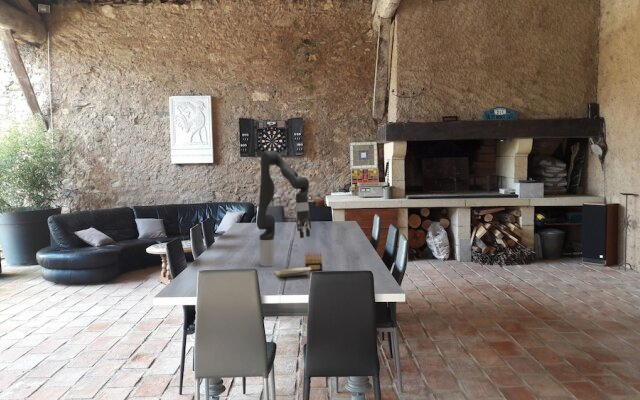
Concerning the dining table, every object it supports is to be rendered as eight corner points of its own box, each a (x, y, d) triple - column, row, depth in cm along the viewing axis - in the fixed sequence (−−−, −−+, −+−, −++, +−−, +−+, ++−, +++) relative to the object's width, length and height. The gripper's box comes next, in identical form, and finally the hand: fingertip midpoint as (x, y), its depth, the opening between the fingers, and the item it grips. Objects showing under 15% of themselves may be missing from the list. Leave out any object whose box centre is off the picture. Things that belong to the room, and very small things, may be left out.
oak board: (273, 273, 306) (273, 271, 306) (302, 271, 312) (302, 269, 311) (277, 277, 297) (277, 274, 297) (306, 274, 303) (306, 272, 303)
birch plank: (277, 277, 296) (277, 274, 297) (307, 274, 302) (306, 272, 302) (281, 271, 287) (280, 269, 288) (311, 269, 293) (310, 266, 294)
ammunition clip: (305, 271, 311) (304, 252, 310) (305, 270, 313) (304, 251, 312) (322, 271, 312) (322, 251, 311) (322, 270, 313) (322, 251, 312)
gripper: (302, 210, 310) (304, 236, 310) (291, 211, 297) (294, 238, 297) (313, 209, 307) (315, 235, 307) (303, 210, 294) (305, 238, 294)
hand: (305, 237), depth 302 cm, fingers open, 8 cm apart
